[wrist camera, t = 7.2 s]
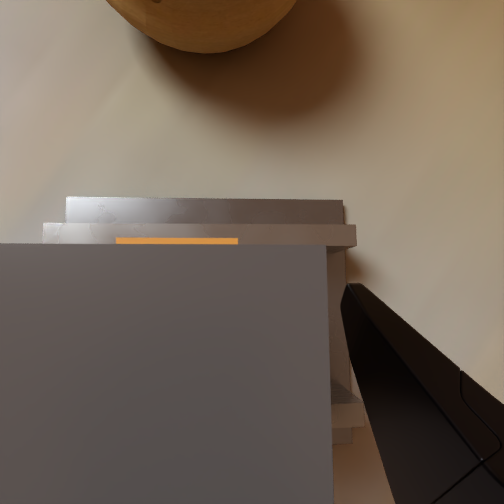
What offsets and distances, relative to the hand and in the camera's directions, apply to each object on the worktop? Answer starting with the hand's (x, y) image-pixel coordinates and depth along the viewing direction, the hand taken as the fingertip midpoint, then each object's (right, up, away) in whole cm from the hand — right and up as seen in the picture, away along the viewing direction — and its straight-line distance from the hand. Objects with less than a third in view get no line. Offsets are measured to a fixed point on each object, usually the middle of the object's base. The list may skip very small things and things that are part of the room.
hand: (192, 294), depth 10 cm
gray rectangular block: (-1, -2, +8) cm, 8 cm away
